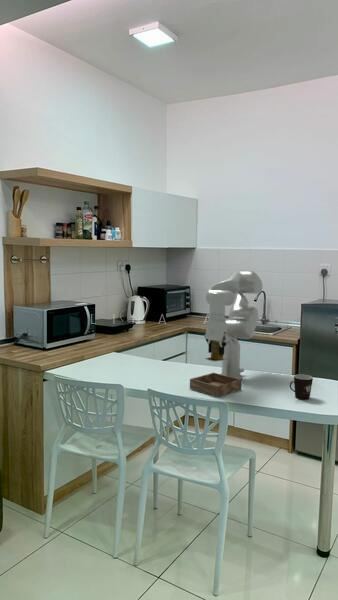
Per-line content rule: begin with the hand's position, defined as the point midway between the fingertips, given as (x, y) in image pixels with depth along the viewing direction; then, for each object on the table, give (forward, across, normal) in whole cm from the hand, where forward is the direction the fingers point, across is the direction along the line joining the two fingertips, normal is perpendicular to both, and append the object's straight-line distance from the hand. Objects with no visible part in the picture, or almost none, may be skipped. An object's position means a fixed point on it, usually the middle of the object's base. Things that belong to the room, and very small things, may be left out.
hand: (216, 353), depth 223 cm
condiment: (+3, 0, 0) cm, 3 cm away
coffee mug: (+18, +35, +19) cm, 44 cm away
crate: (+18, 0, 0) cm, 18 cm away
